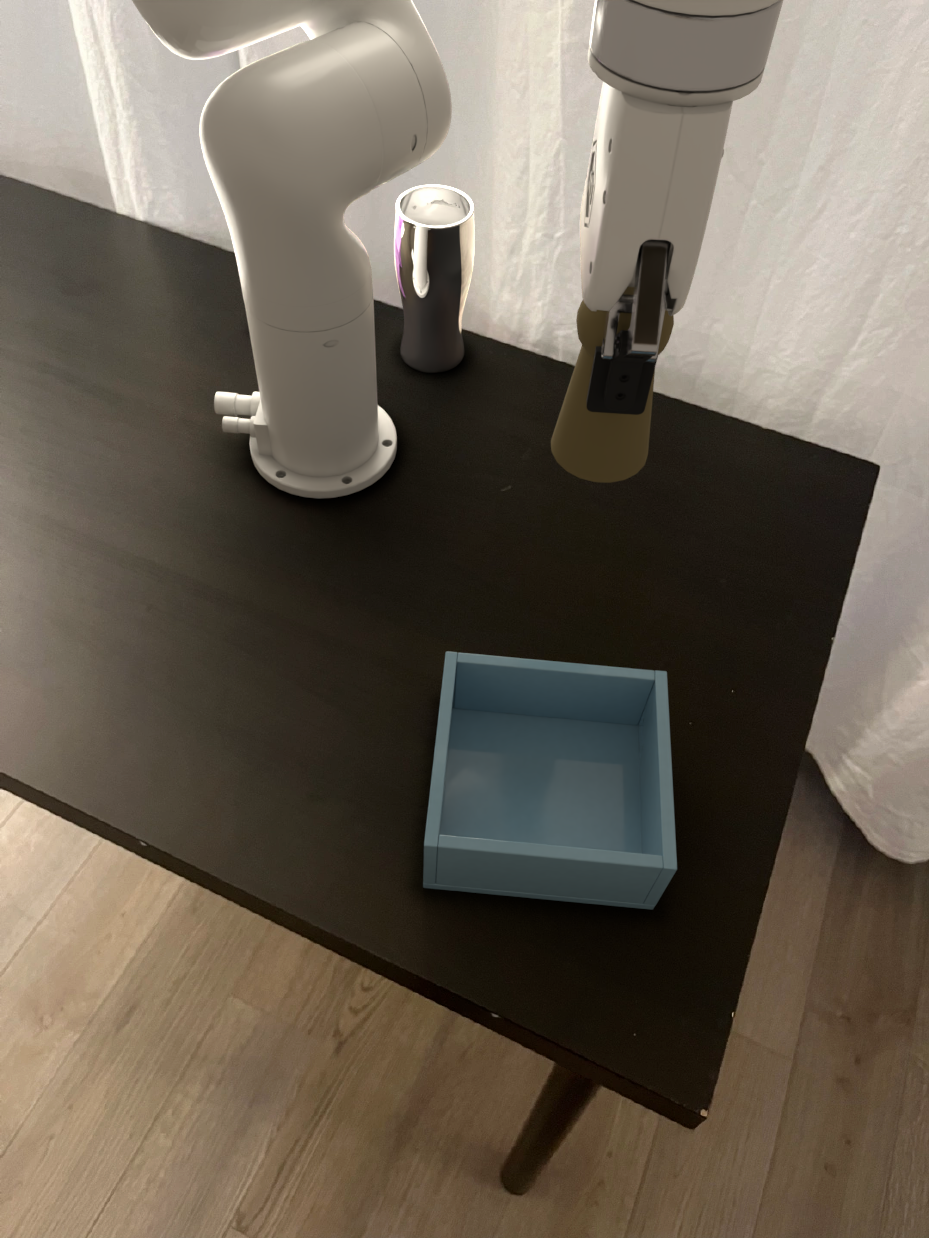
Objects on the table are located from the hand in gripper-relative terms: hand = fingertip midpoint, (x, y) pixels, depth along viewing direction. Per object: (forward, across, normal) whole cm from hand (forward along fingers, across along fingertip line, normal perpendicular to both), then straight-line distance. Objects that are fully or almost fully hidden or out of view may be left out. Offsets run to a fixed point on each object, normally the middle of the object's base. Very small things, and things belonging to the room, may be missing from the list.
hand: (612, 372), depth 54 cm
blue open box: (+24, +15, -2) cm, 28 cm away
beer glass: (+23, -30, -12) cm, 40 cm away
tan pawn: (+6, 0, 0) cm, 6 cm away
